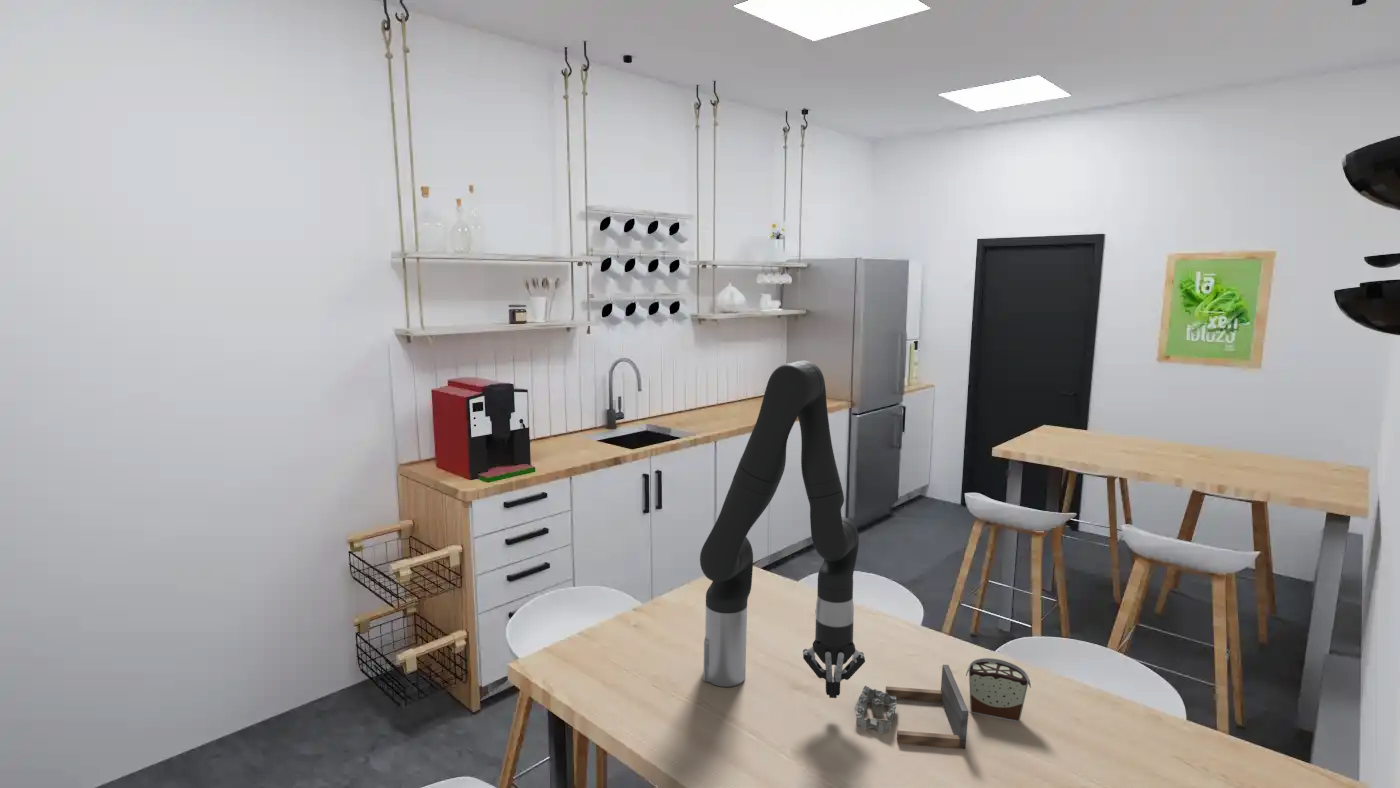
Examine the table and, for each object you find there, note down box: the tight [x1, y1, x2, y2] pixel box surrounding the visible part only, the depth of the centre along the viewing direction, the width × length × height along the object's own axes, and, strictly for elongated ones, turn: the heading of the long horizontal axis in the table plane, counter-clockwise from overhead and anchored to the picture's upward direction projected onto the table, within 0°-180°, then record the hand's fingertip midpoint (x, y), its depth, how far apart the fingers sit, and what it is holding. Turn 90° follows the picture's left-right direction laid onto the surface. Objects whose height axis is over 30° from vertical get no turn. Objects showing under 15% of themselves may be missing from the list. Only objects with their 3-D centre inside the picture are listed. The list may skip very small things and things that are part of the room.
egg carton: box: [854, 685, 898, 734], centre depth 146 cm, size 11×8×4 cm
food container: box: [965, 657, 1032, 723], centre depth 148 cm, size 12×6×10 cm, turn 71°
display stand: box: [885, 664, 970, 750], centre depth 144 cm, size 13×16×8 cm
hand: (832, 695), depth 146 cm, fingers closed
